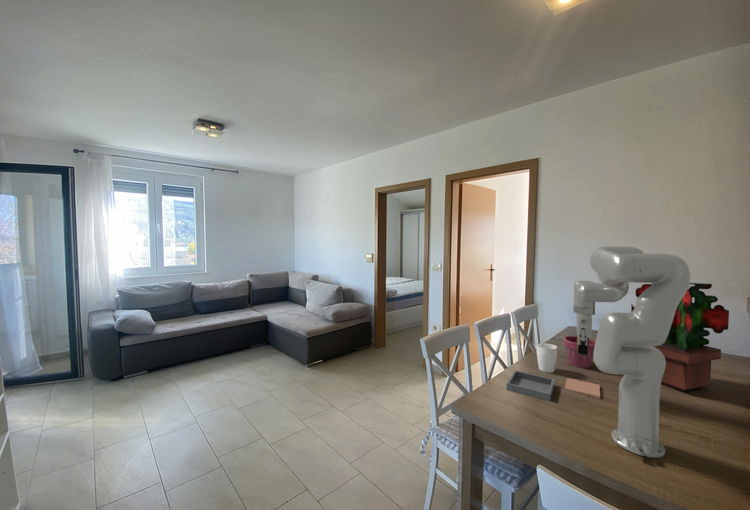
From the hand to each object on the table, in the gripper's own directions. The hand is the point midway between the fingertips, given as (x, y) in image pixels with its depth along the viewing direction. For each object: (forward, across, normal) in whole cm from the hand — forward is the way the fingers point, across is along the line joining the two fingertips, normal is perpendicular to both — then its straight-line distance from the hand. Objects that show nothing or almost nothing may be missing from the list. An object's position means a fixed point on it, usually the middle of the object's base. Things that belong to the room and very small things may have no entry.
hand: (583, 351), depth 130 cm
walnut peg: (+1, 0, 0) cm, 1 cm away
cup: (+16, +13, +15) cm, 26 cm away
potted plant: (+16, +29, -33) cm, 47 cm away
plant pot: (+17, +30, +2) cm, 34 cm away
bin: (+16, -13, +18) cm, 27 cm away
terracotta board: (+16, 0, 0) cm, 16 cm away
